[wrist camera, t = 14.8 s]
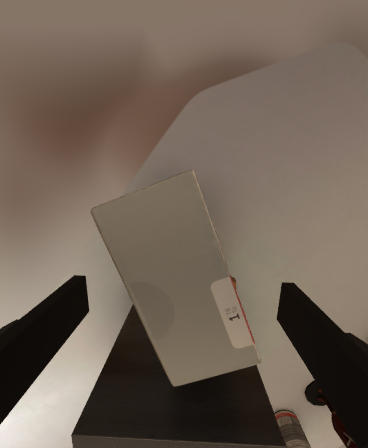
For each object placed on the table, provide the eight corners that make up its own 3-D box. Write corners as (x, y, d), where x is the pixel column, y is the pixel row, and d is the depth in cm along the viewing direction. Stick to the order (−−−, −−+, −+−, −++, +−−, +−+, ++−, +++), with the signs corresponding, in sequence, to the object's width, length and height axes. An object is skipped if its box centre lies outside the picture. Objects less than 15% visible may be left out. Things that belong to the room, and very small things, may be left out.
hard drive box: (221, 261, 34) (263, 368, 14) (181, 274, 35) (169, 393, 15) (191, 177, 31) (193, 167, 11) (148, 194, 32) (81, 211, 12)
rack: (136, 274, 35) (54, 414, 14) (234, 277, 34) (305, 427, 13) (139, 367, 39) (81, 580, 18) (226, 371, 39) (270, 594, 18)
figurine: (304, 380, 39) (374, 500, 24) (341, 377, 38) (436, 498, 24) (304, 405, 40) (371, 534, 25) (340, 402, 40) (429, 532, 25)
